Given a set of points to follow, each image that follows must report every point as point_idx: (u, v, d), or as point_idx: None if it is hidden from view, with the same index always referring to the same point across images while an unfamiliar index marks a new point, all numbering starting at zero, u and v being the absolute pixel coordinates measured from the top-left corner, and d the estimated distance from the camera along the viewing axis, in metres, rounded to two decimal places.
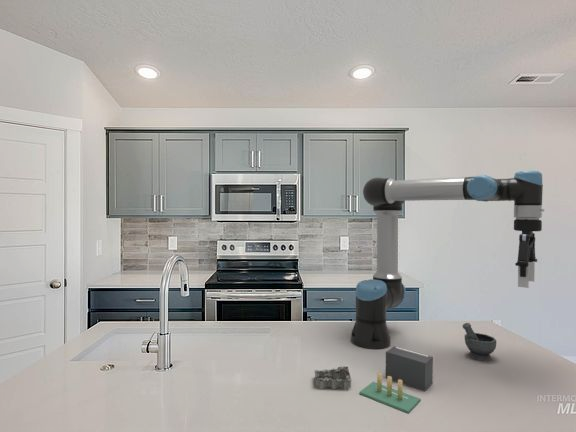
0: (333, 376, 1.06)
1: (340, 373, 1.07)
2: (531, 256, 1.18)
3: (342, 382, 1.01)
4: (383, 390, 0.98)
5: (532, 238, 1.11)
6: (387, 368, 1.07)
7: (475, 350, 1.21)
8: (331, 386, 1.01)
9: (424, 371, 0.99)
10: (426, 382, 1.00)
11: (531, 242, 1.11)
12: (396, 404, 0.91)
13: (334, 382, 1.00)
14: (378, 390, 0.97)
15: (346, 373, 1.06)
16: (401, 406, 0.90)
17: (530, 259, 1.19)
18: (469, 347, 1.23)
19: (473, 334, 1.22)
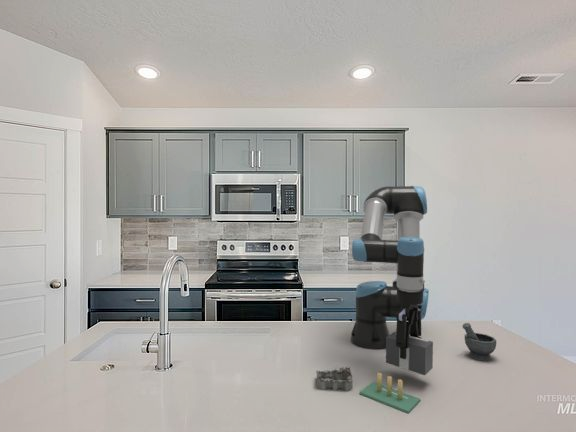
0: (335, 377, 1.06)
1: (342, 373, 1.06)
2: (415, 332, 1.08)
3: (344, 383, 1.00)
4: (383, 390, 0.98)
5: (412, 312, 1.03)
6: (387, 353, 1.07)
7: (475, 350, 1.21)
8: (332, 387, 1.00)
9: (424, 356, 1.00)
10: (426, 366, 1.01)
11: (411, 318, 1.03)
12: (396, 404, 0.91)
13: (335, 383, 1.00)
14: (378, 390, 0.97)
15: (348, 374, 1.05)
16: (401, 406, 0.90)
17: (414, 336, 1.09)
18: (469, 347, 1.23)
19: (473, 334, 1.22)
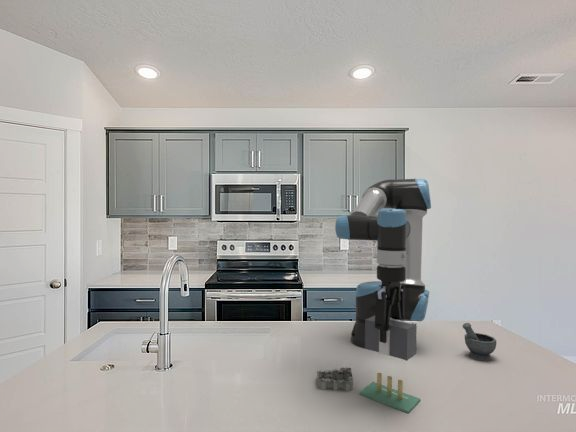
0: (336, 377, 1.06)
1: (343, 374, 1.06)
2: (397, 314, 0.97)
3: (344, 383, 1.00)
4: (383, 390, 0.98)
5: (393, 291, 0.93)
6: (367, 338, 0.97)
7: (475, 350, 1.21)
8: (332, 387, 1.00)
9: (406, 338, 0.89)
10: (408, 351, 0.90)
11: (391, 297, 0.93)
12: (396, 404, 0.91)
13: (336, 383, 0.99)
14: (378, 390, 0.97)
15: (349, 374, 1.05)
16: (401, 406, 0.90)
17: (396, 319, 0.98)
18: (469, 347, 1.23)
19: (473, 334, 1.22)
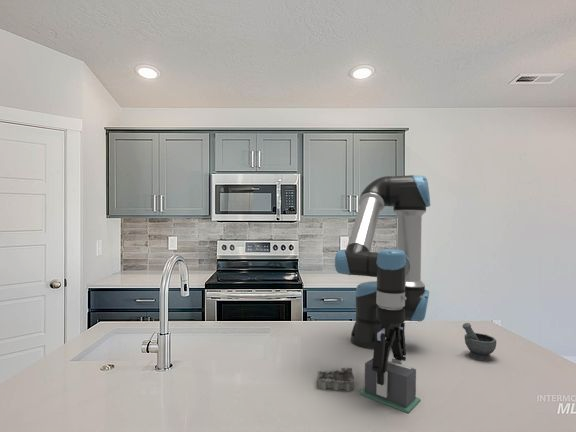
0: (337, 377, 1.06)
1: (344, 374, 1.06)
2: (398, 352, 0.98)
3: (345, 383, 1.00)
4: None
5: (392, 332, 0.93)
6: (366, 381, 0.97)
7: (475, 350, 1.21)
8: (333, 388, 1.00)
9: (405, 386, 0.90)
10: (408, 398, 0.90)
11: (391, 338, 0.93)
12: (396, 404, 0.91)
13: (336, 383, 0.99)
14: None
15: (350, 375, 1.05)
16: (401, 406, 0.90)
17: (398, 356, 0.99)
18: (469, 347, 1.23)
19: (473, 334, 1.22)
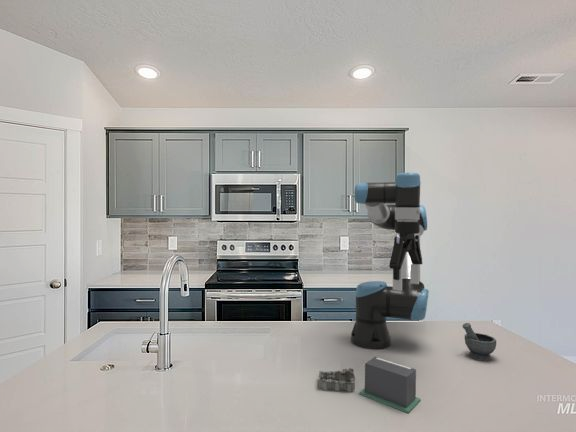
0: (338, 378, 1.05)
1: (346, 375, 1.05)
2: (415, 258, 1.17)
3: (346, 384, 0.99)
4: None
5: (409, 240, 1.10)
6: (366, 381, 0.97)
7: (475, 350, 1.21)
8: (334, 388, 1.00)
9: (405, 386, 0.90)
10: (408, 398, 0.90)
11: (407, 244, 1.10)
12: (396, 404, 0.91)
13: (337, 384, 0.99)
14: None
15: (351, 375, 1.04)
16: (401, 406, 0.90)
17: (415, 261, 1.18)
18: (469, 347, 1.23)
19: (473, 334, 1.22)
